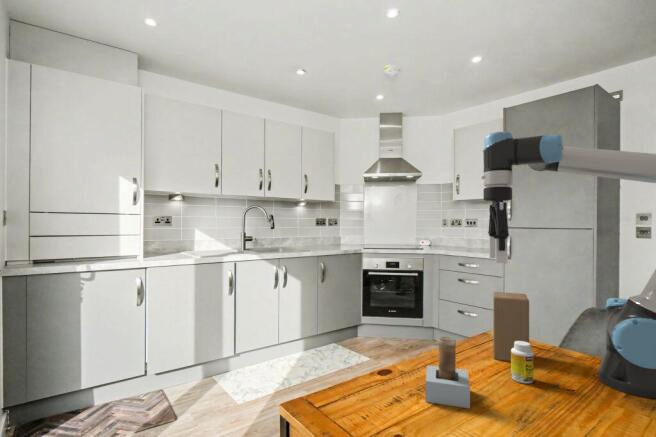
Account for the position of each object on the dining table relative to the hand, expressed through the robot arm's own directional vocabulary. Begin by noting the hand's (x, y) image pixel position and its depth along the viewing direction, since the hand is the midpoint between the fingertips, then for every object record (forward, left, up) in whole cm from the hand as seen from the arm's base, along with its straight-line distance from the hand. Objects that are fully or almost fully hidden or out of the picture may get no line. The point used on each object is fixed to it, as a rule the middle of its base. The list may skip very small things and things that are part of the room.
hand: (497, 260), depth 103 cm
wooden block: (-6, -16, -33) cm, 37 cm away
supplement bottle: (-6, +2, -33) cm, 34 cm away
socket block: (+14, +18, -33) cm, 40 cm away
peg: (+14, +18, -33) cm, 40 cm away
